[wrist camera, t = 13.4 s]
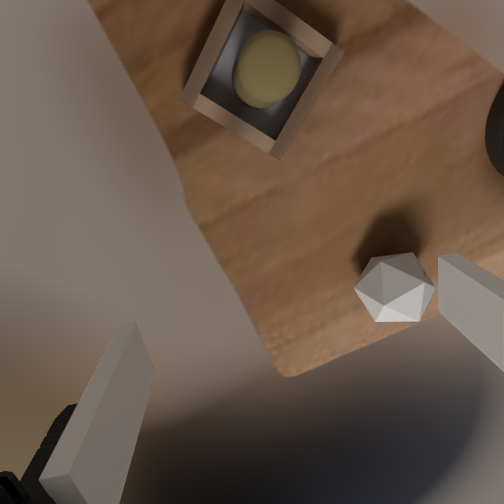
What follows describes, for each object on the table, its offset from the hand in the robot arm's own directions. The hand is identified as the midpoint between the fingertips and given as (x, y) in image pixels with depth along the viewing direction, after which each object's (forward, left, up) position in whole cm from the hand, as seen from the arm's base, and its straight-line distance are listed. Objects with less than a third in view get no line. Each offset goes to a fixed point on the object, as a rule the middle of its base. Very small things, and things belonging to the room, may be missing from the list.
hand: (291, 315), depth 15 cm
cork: (+5, -11, -28) cm, 31 cm away
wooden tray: (+5, -11, -29) cm, 31 cm away
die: (-22, +1, -29) cm, 36 cm away
